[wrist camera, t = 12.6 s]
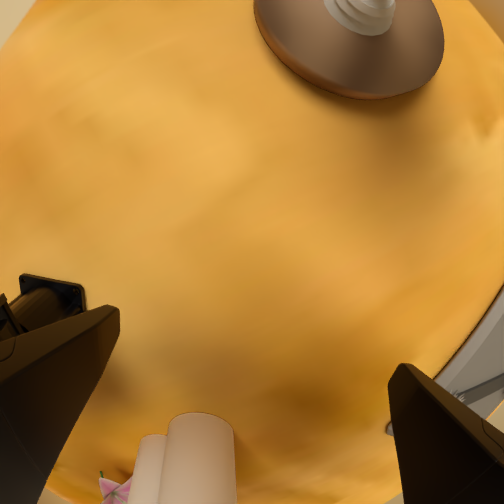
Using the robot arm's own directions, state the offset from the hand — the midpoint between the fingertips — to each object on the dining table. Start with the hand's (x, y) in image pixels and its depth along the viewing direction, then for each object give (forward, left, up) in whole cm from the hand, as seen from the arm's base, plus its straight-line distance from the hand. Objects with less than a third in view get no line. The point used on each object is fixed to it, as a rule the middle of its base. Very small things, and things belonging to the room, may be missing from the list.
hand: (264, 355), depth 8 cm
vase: (-3, -22, -13) cm, 26 cm away
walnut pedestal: (+5, +18, -13) cm, 23 cm away
